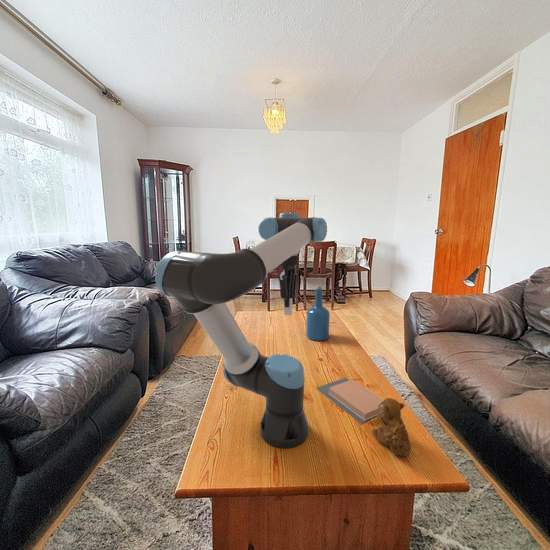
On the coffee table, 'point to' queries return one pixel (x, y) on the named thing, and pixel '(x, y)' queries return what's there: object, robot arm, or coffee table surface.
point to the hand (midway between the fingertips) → (288, 314)
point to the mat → (325, 391)
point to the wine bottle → (318, 319)
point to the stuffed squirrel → (392, 428)
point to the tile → (357, 399)
